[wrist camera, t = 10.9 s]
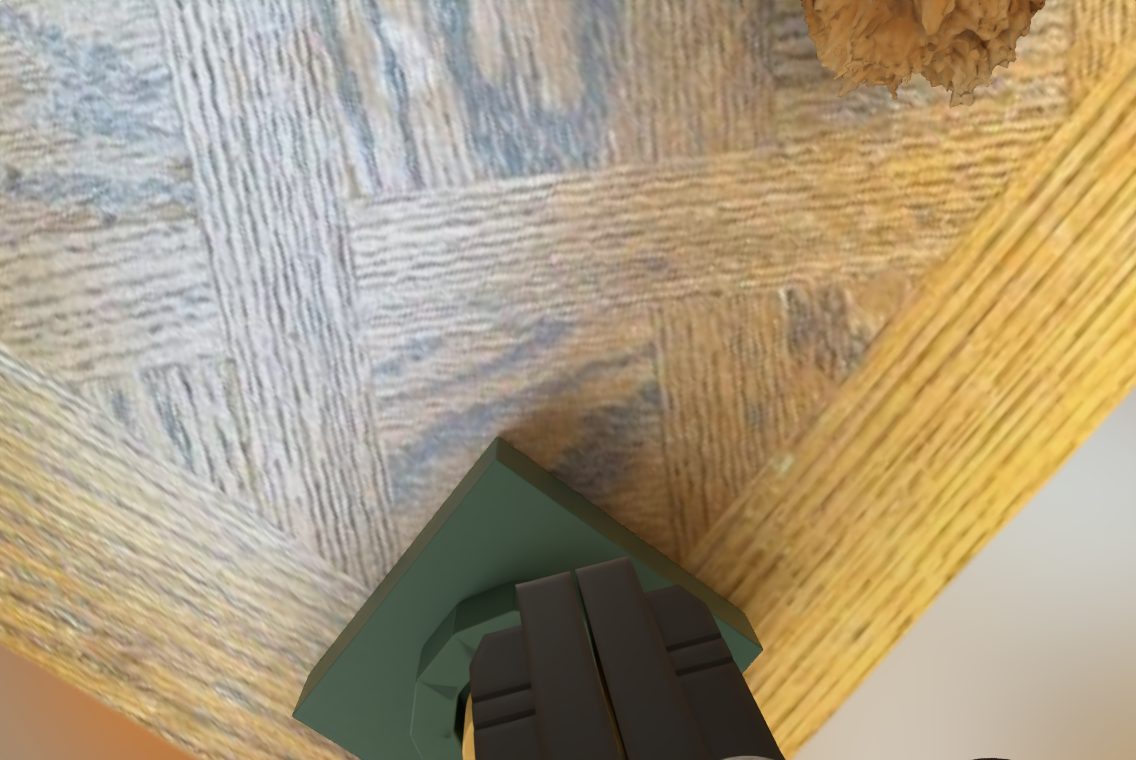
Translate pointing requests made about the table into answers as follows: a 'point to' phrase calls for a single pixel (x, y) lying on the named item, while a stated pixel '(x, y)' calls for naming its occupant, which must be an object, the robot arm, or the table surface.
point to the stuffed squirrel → (918, 40)
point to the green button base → (472, 608)
